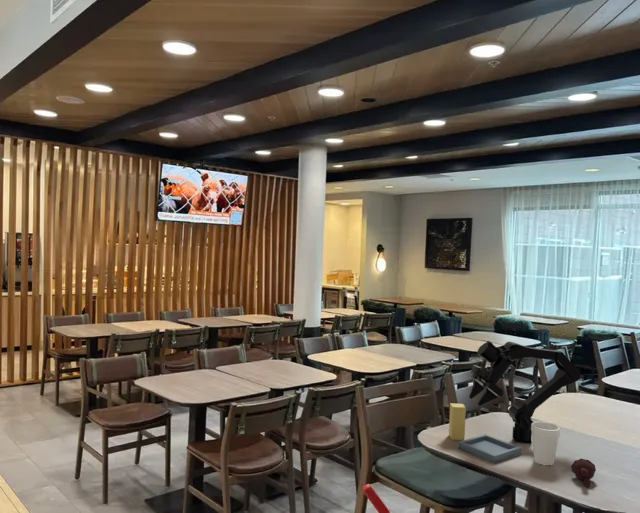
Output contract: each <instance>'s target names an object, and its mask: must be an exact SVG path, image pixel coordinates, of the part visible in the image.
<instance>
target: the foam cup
mask: <svg viewBox="0 0 640 513" xmlns="http://www.w3.org/2000/svg"><path fill="white" fill-rule="evenodd" d="M531 431H532V436H531V441H532V450H533V458H534V460H535V461H534V462H535V463H536V462H537V463H536V464H538V463H539V464H538V465H540V464H542V465H541V466H545V465H551V466H554V463H555V458H556V454H557V449H558V443H559V438H560V435H561V428H560V426H558V425H557V424H554V423H551V422H547V421H533V423H532V424H531Z"/></svg>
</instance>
